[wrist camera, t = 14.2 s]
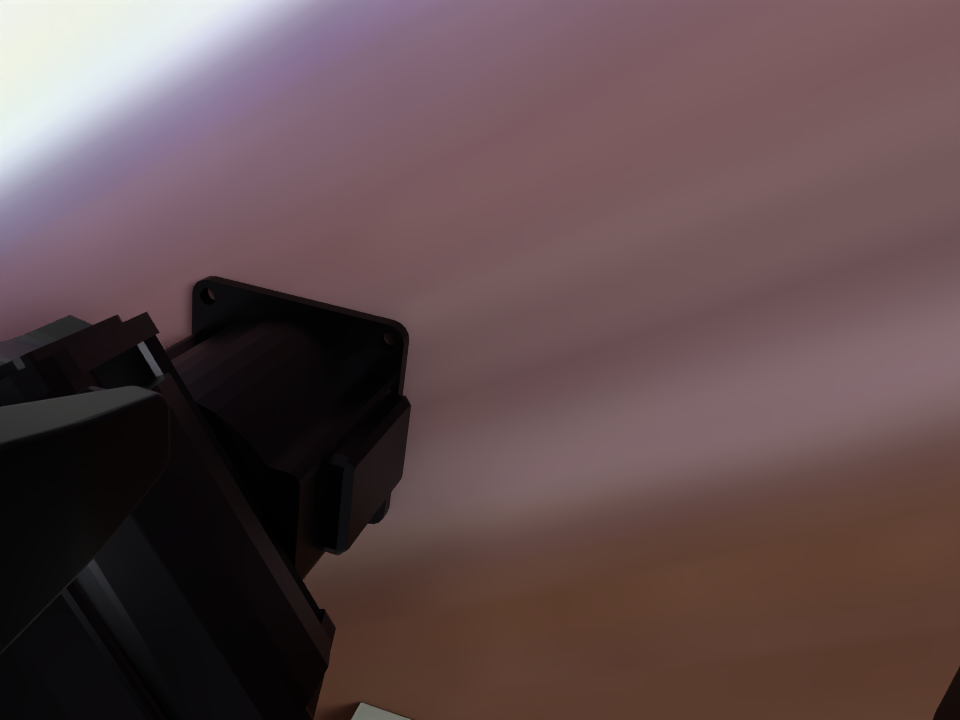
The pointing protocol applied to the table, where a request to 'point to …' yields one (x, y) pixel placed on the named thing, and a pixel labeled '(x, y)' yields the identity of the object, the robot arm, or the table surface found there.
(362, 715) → the tray
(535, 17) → the table surface
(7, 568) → the robot arm
